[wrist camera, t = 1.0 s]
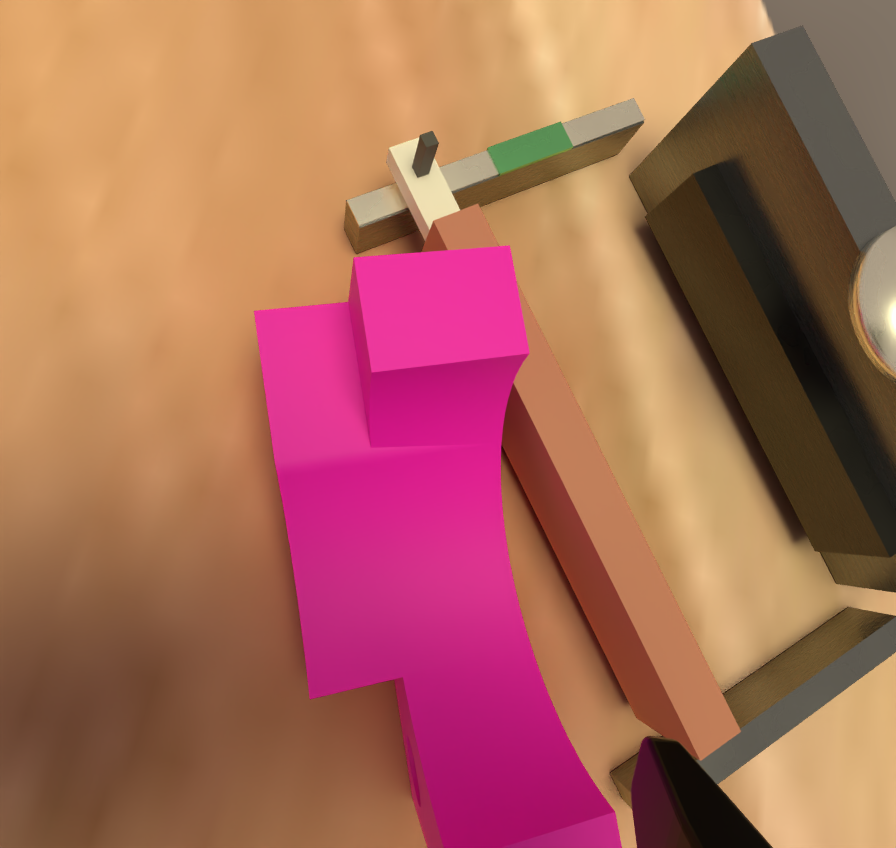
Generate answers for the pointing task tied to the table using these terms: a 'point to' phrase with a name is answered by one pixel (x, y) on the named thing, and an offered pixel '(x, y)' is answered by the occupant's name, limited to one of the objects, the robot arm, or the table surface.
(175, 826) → the table surface
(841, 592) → the table surface
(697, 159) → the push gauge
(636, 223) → the table surface
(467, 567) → the toy block
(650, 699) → the gauge plunger
